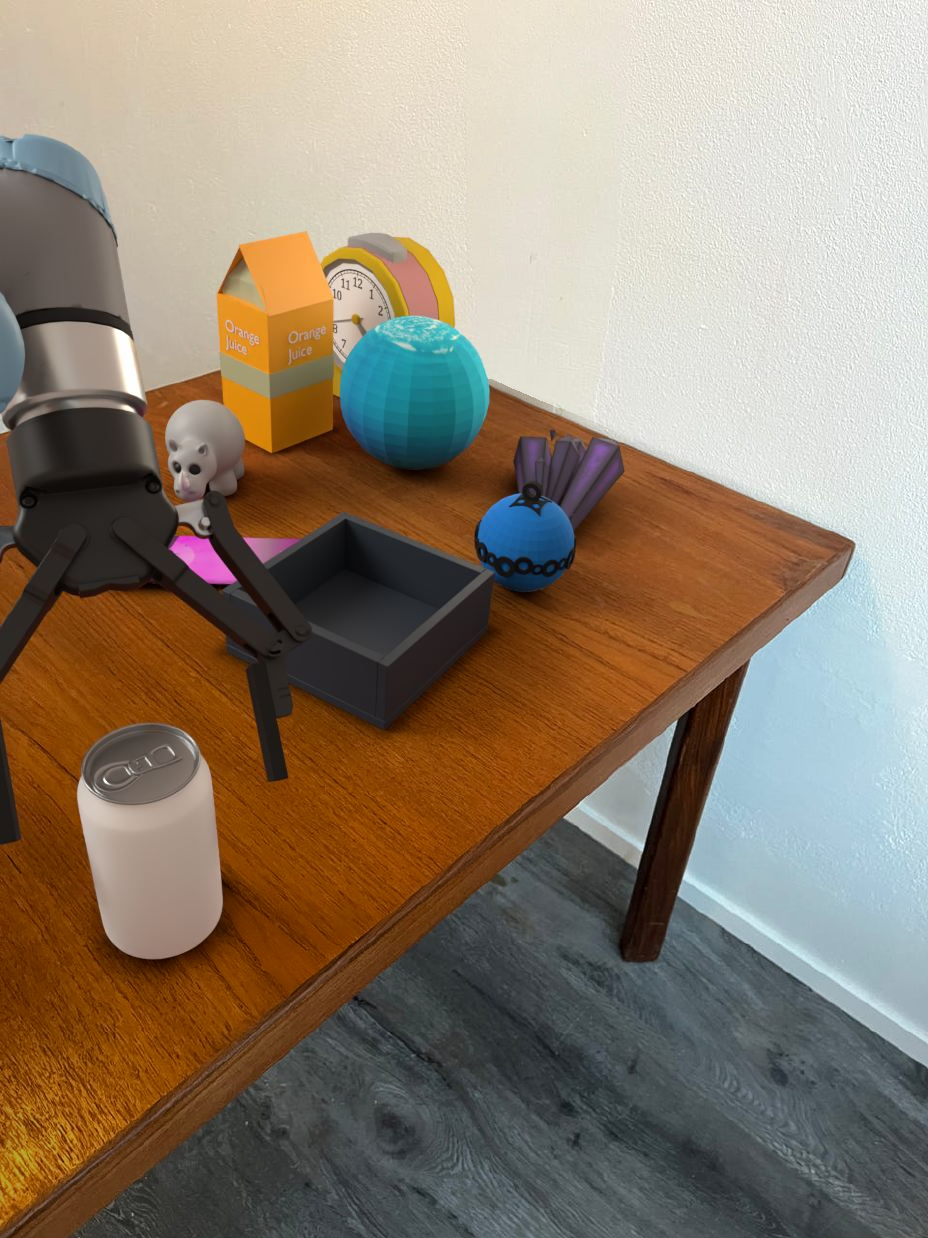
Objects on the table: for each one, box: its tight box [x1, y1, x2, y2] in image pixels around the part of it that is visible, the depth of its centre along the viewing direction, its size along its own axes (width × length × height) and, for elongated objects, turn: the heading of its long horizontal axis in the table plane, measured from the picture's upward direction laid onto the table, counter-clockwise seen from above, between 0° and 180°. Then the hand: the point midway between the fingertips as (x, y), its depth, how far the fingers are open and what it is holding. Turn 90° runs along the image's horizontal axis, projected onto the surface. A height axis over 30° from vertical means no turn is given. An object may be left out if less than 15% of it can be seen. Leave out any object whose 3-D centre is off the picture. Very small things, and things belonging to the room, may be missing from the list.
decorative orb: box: [339, 316, 490, 471], centre depth 97 cm, size 15×15×15 cm
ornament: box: [473, 481, 578, 593], centre depth 82 cm, size 9×9×10 cm
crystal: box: [512, 429, 625, 532], centre depth 96 cm, size 7×12×20 cm
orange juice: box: [215, 230, 334, 454], centre depth 99 cm, size 8×9×20 cm
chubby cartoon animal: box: [164, 399, 246, 503], centre depth 90 cm, size 7×12×8 cm, turn 176°
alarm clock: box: [320, 232, 456, 398], centre depth 109 cm, size 15×8×18 cm, turn 50°
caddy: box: [221, 511, 495, 731], centre depth 75 cm, size 15×15×6 cm
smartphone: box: [145, 535, 301, 586], centre depth 83 cm, size 7×15×1 cm, turn 97°
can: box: [76, 722, 224, 960], centre depth 51 cm, size 6×6×12 cm
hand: (151, 810), depth 51 cm, fingers open, 13 cm apart
